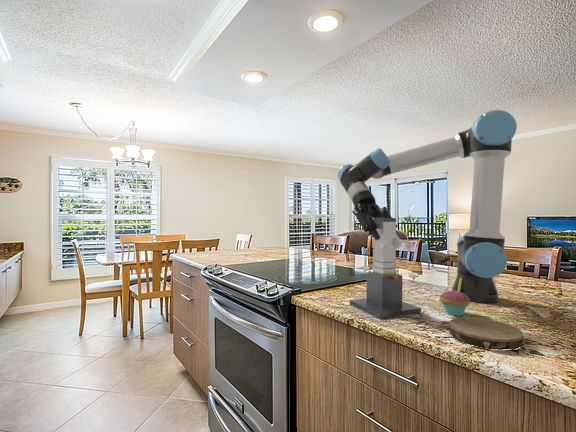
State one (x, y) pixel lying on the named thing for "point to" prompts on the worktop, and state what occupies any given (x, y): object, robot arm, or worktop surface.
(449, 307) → the cupcake
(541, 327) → the worktop surface
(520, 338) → the wooden slice coaster
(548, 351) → the worktop surface
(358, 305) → the stand base
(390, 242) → the column
